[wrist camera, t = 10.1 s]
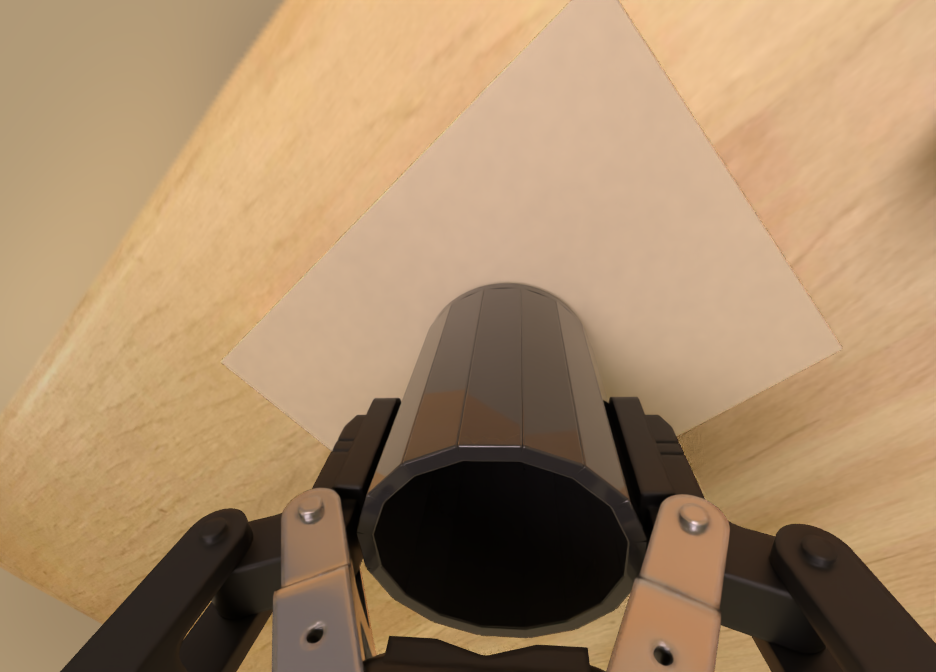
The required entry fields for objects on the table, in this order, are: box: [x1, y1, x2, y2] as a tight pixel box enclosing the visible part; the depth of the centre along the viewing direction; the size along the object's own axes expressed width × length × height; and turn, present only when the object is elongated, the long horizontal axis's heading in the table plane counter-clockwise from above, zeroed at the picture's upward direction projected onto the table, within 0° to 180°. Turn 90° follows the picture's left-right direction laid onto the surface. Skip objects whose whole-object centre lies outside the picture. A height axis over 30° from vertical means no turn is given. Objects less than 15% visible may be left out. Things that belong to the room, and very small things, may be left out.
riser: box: [221, 0, 843, 451], centre depth 18 cm, size 18×14×3 cm
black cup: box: [356, 283, 648, 638], centre depth 13 cm, size 6×6×8 cm
